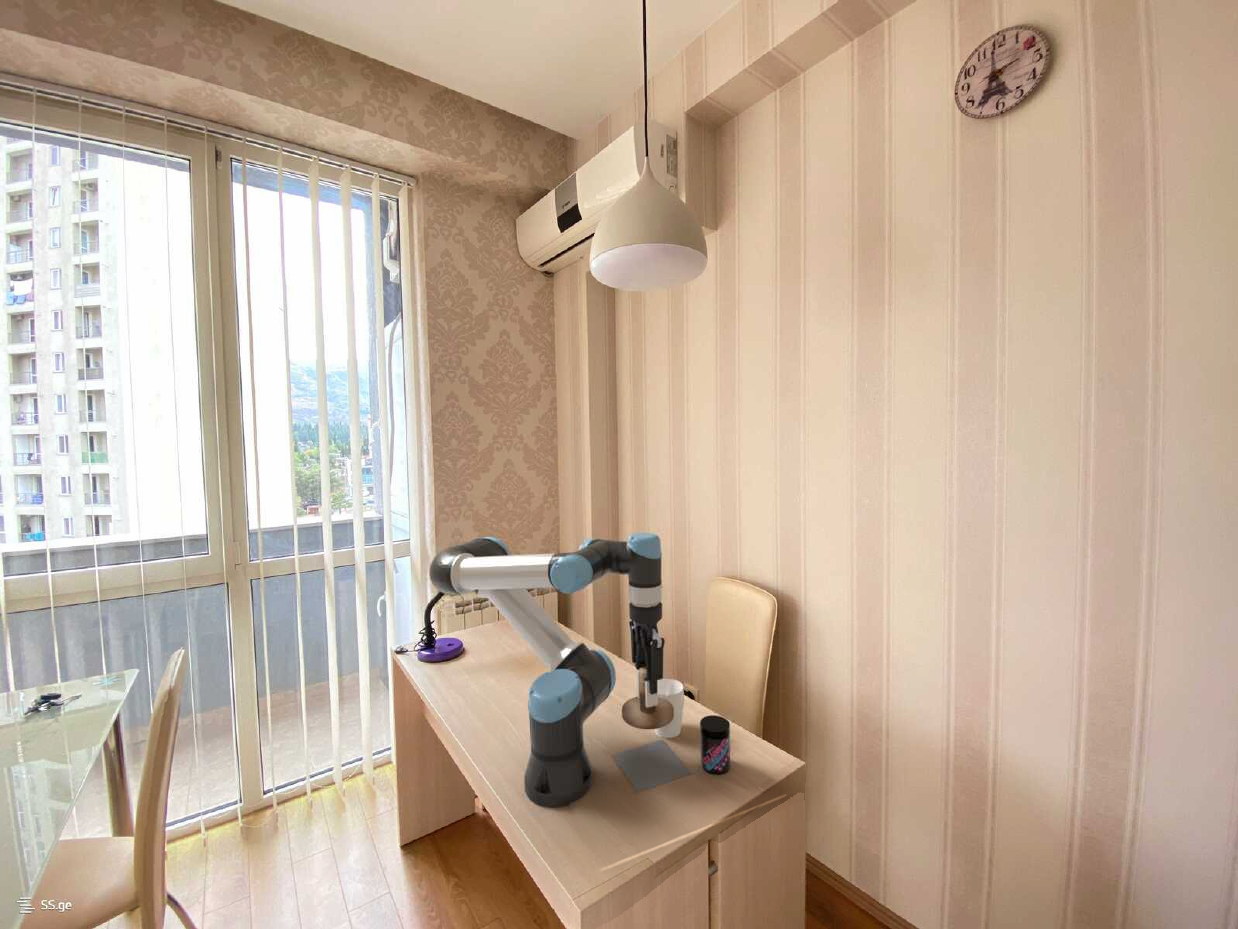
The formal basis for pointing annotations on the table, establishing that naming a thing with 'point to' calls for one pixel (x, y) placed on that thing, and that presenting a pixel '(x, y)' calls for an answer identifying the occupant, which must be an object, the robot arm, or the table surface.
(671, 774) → the mat
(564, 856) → the table surface
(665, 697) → the cup
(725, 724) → the supplement container
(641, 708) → the lid
